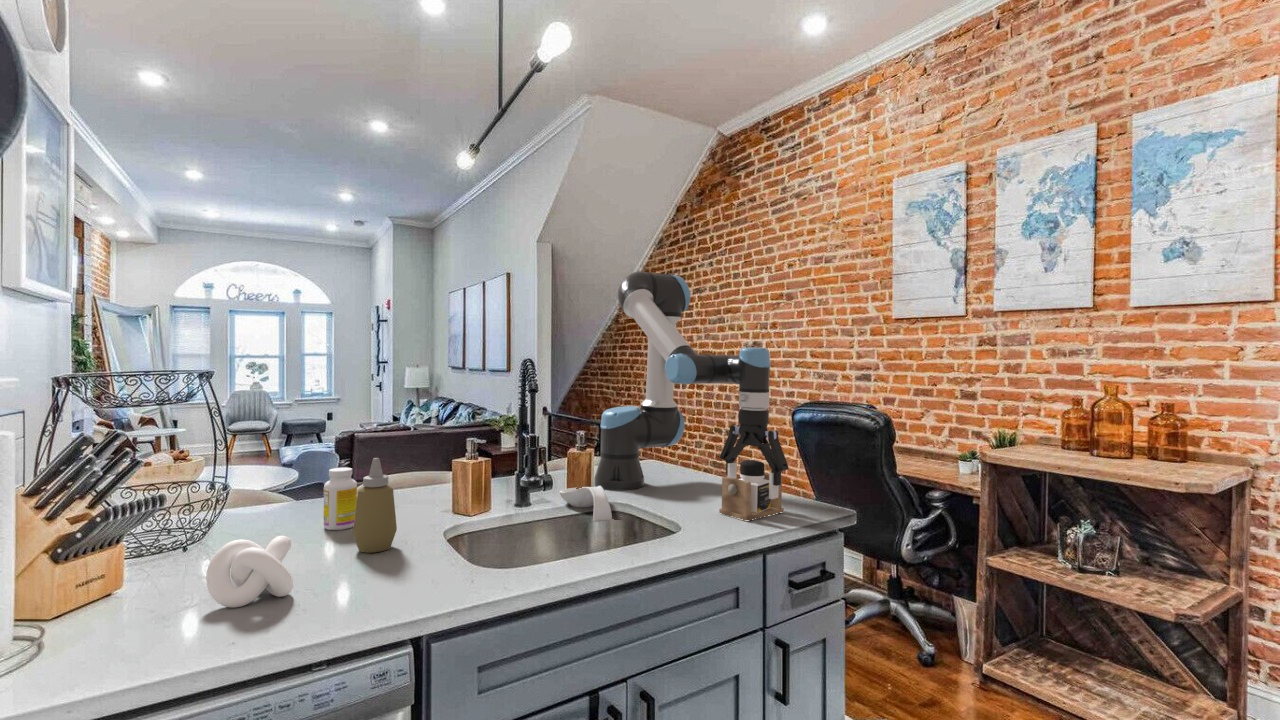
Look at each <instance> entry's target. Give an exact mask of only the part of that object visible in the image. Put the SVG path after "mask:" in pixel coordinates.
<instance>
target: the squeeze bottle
mask: <svg viewBox="0 0 1280 720" xmlns="http://www.w3.org/2000/svg"><path fill="white" fill-rule="evenodd" d="M382 469H383V468H382V463H381V460H380V458H379V457H373V459H372V462H371V466H370V470H369V474H368V475H366V476H364V477H363V478H362V487H361V488H359V489H357V503H356V511H355V520H354V526H353V527H352V528H353V529H352V535H353V537H354V541H355V543H356V547H357V548H358V549H357V550H358V551H359V552H361V553H378V552H383V551H386V550H389V549H391V547H392V544H393V542H394V538H395V536H396V533H397V528H398V527H397V518H396V517H397V516H396V507H395V506H396V505H395V496H394V488H393V487H392V486H391V485H389V475H387V474H384V473H383V470H382Z"/></svg>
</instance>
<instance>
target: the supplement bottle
mask: <svg viewBox="0 0 1280 720" xmlns="http://www.w3.org/2000/svg"><path fill="white" fill-rule="evenodd" d="M328 476H329V480H327V481H326V482H325V483H324V486H323V527H324V529H325V530H328V531H341V530H349V529H351V528H354V520H355V511H356V503H357V495H358V482H357V480H355V479H354V478H352V476H353V468H351V467H334V468H330V469H329V470H328Z"/></svg>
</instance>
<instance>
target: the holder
mask: <svg viewBox="0 0 1280 720" xmlns="http://www.w3.org/2000/svg"><path fill="white" fill-rule="evenodd" d="M739 479H740V478H737V479H735V478H730V477H728V476H723V477H721V508H719V510H718V513H722V514H725V515H724V516H726V515H729V516H733V517H736V518H740V519H743V520H752V519H755V518H760V517H764V516H768V515H773V514H776V513H780V512H785V511H784V507H782V501H783V500H782V498H783V495H782V494H783V476H782V475H781V484H780V485H779V493H778V498H775V499H771V507H770V508H769V509H767V510H764V511H762V512H760V513H753V512H750V499H751V482H748V481H743V480H739ZM763 479H765V480H769V473H767V472H765V473H764V478H763ZM722 514H721V515H722ZM729 516H728V517H729ZM773 516H774V515H773ZM736 518H735V519H736ZM752 521H753V520H752Z"/></svg>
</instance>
